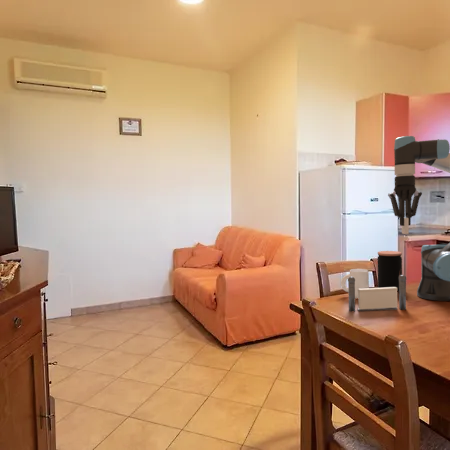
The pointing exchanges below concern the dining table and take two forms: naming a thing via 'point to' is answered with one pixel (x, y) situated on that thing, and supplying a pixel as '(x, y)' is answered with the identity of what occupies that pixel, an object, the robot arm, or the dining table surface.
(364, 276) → the mug
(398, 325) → the dining table surface
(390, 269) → the coffee jar
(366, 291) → the gate
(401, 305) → the posts and sill
